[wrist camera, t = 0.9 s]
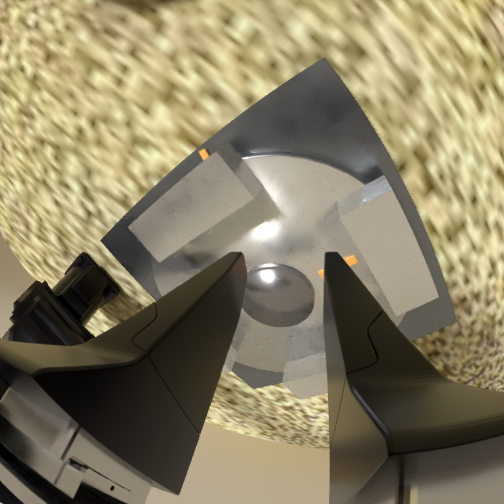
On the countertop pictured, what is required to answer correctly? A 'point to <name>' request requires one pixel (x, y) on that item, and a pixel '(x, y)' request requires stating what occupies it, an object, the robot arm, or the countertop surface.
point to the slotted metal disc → (285, 250)
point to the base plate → (305, 144)
